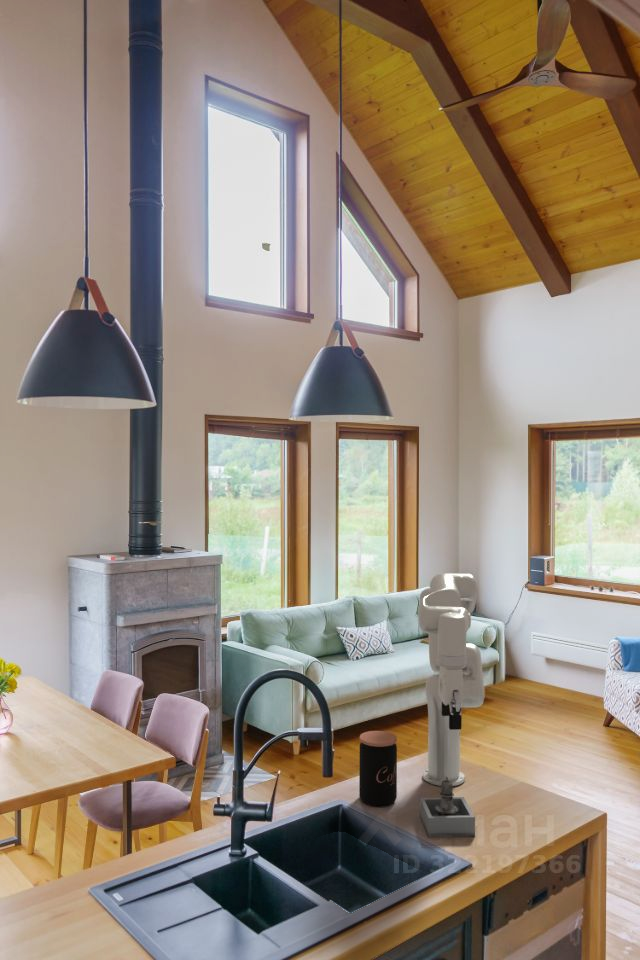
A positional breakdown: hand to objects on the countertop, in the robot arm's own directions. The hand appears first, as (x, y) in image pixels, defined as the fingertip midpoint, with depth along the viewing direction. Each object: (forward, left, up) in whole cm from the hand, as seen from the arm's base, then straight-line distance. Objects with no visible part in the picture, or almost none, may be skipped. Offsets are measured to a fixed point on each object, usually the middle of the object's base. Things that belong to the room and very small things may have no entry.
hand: (451, 722), depth 206 cm
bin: (+4, -2, -26) cm, 27 cm away
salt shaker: (+4, -2, -25) cm, 26 cm away
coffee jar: (-13, -18, -26) cm, 34 cm away
